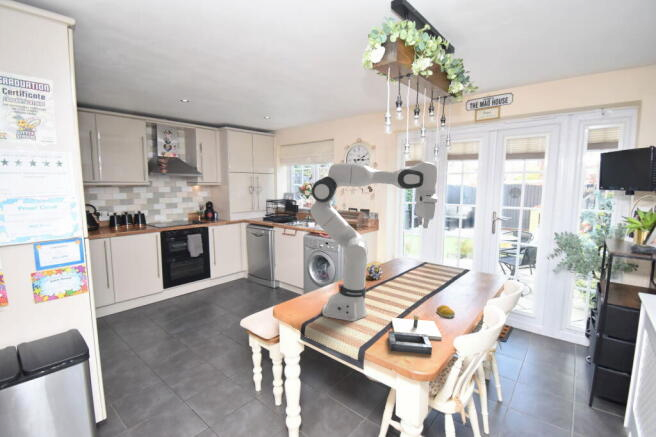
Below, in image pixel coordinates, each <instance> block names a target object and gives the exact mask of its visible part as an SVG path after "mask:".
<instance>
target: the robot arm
mask: <svg viewBox="0 0 656 437" xmlns="http://www.w3.org/2000/svg"><path fill="white" fill-rule="evenodd" d="M437 178H438V167H437V165H436V164H435V163H432V162H428V161H420V162H419V163H417V164H415V165H413V166H410V167H406V168H401V169H399V170H395V171H391V170H390V171H389V170H388V171H387V170H377V169H374V168H372V167H370V166H369V165H365V164H363V163H362V164H360V163H355V162H353V163H352V162H341V163H339V162H338V163H334V164H332V165H331V166H330V167H329V169H328V173H327V175H326V176H324V177H322V178H320V179H318V180H316V181H314V183H313V184H312V186H311V196H312V197H313V199H314V200H315V202H314V203H313V204H311V207H310V209H309V213H310V214H311V216H312V218H313V219H314V221H315V222H316V223H317V225H318V226H319V227H320V228H321V229H322V230H323V231H324V233H325V234H326V235H328V237H329V238H330V239H331V240H333V241H334V242H336V243H337V244H338V245H339V246H340V247H342V249H343V250H344V255H343V281H342V282H339V283H338V291H337V292H336V293H334V294H333V295H330V297H329V298H328V301H327V303H326V304H325V305H324V306H322V311H321V313H322V316H323V317H327V318H330V319H331V318H333V319H337V320H343V321H350V322H355V321H357V320H359V319H363V318H365V317H367V315H368V313H367V310H366V309H367V307H366V296H367V288H366V287H367V286H366V276H367V267H368V252H369V251H368V244H367V241H366V240H365V238H364V237H363V236H362V235H361V234H360V233H359V232H358V231H356V229H354V228H353V227H352V226H351V225H350V224H349V223H348V222H347V220H346V219H344V217H342V216H341V214H340V213H339V212H338V211H337V210H336V209H335V208H334V207H333V205H332V200H333V198H335V195H336V194H337V189H338V188H339V187H352V188H353V187H354V188H355V187H357V188H359V187H360V188H361V187H365V186H366V187H367V186H370V185H373V184H374V185H375V184H383V185H385V184H386V185H393V186H395V187H397V188H399V189H403V190H412V189H415V195H414V197H415V198H414V200H415V208H414V213H415V214H414V215H416V216H417V225H419V226H422V228H423V229H428V226H429V223H430V220H433V219H434V217H435V212H436V203H437V202H438V197H437V195H436V194H437V193H436V184H437V180H438V179H437Z"/></svg>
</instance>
